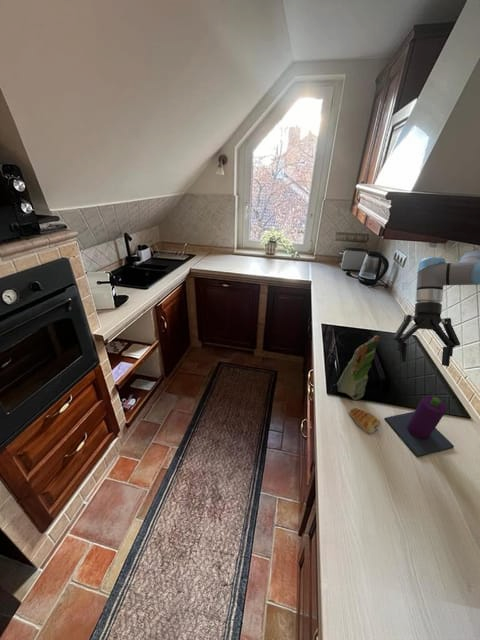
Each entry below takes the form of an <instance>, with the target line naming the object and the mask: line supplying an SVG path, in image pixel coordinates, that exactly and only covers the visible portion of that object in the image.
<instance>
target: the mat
mask: <svg viewBox="0 0 480 640" xmlns="http://www.w3.org/2000/svg"><path fill="white" fill-rule="evenodd" d="M414 412H415V410H414V411H409V412H405V413H400V414H395V415H391V416H387V417H384V420H385V422H386V423H387V424H388V425H389V427H390V428H391V429H392V430H393V432H395V434H396V435H397V436H398V437H399V439H400V440H401V441H402V442H403V443H404V444H405V445H406V447H407V448H408V449H409V450H410V451H411V452H412V453H413V455H415V457H416V458H420V457H424V456H428V455H431V454H435V453H438V452H439V453H440V452H443V451H446V450H450V449H451V450H452V449H454V448H455V445H454V444H453V443H452V442H451V441H450V440H449V439H448V438H447V437H446V436H445V435H444V434H443V433H441V431H439V429H438V428H437V427H435V429H434V431H433V432H432V434H431V435H430V437H429V438H428V439H426V440H421V439H418V438H416V437H414V436H413V435H411V434H410V433H409V431H408V429H407V424H408V422H409V421H410V419H411V417H412V415H413V414H414Z"/></svg>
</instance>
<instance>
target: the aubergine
mask: <svg viewBox="0 0 480 640" xmlns="http://www.w3.org/2000/svg"><path fill="white" fill-rule="evenodd" d="M447 410H448V408H447V405H446V404H445V403H444V402H443V401H442V400H441V399H440V398H439V397H437V396H431V395H425V396H422V398H421V399H420V401H419V402H418V405H417V407H416V408H415V410H414V411H415V412H414V411H413V412H414V414H413V415H412V417H411V419H410V421H409V422H408V424H407V429H408V431H409V433H410V434H411V435H413V436H414V437H416V438H418V439H421V440H426V439H428V438H429V437H430V435H431V434H432V432H433V431H434V429H435V428H437V426H438V425H439V423H440V421H441V420H442V418H443V417H444V416H445V414H446V413H447Z"/></svg>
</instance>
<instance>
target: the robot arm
mask: <svg viewBox="0 0 480 640" xmlns="http://www.w3.org/2000/svg"><path fill="white" fill-rule="evenodd" d="M416 273H417V276H416V277H417V278H416V291H415V302H416V303H415V304H414V315H411V314H405V315H404V317H403V321H402V322H401V324H400V325H399V327H398V329H397V330H396V331H395V334H393V336H392V340H394V341H396V342H397V351H398V352H399V361H400V362H402V363H403V362H405V363H406V359H407V347H408V343H407V340H408V339H409V338H411V337H412V336H413V335H414V334H415V333H416V332H417V331H419V330H430V331H431V330H432V331H433V332H434V333H435V334H436V336H437V337H438V338H439V339H440V341H441V342H442V343H443V344H444V345H445V346H442V353H441V354H442V356H441V366H443V367H450V362H451V359H450V358H451V357H453V354H454V348H456V347H459V346H461V342H460V340H459V338H458V336H457V334H456V331H455V329H454V327H453V325H452V318H451V317H444V318H442V317H441V316H442V310H443V304H442V302H443V299H444V297H443V296H444V286H479V285H480V251H478V250H477V251H470V252H467V253H465V254H464V255H462V256H461V257H460V258H459V260H458V262H446V259H445V258H444V257H441V256H429V257H426V258H423V259H421V260H420V261H419V262H418V268H417V272H416ZM412 321H413V322H414V324H412V325H411V327H410V328H409V329H408V330H407V331H406V329H407V328H408V326H409V325H410V323H411V322H412ZM440 324H441V325H443V328H444V330H443V328H442V326H441V325H440ZM405 331H406V332H405Z"/></svg>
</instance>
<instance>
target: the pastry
mask: <svg viewBox="0 0 480 640" xmlns="http://www.w3.org/2000/svg"><path fill="white" fill-rule="evenodd" d="M350 416H351V418H352V419H353V420H354V422H355V424H357V426H358V427H360V429H362V430H363V431H364V432H365V433H367V434H369V435H371V434H373V433H374V432H376V430H378V429H379V428H380V427H381V421H380V419H378V418H377V417H376V416H375V415H373V414H372V413H371V412H368V411H365V410H363V409H361V408H358V407H354V408H351V409H350Z"/></svg>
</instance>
